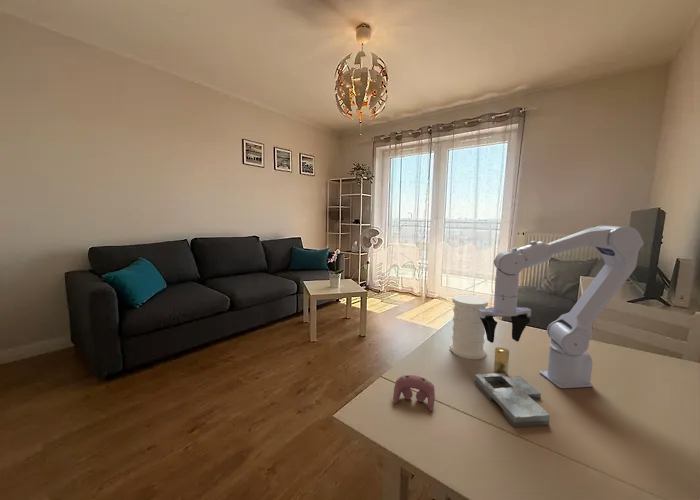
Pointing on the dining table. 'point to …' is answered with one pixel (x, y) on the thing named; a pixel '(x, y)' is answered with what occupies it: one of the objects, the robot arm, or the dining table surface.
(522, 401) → the upper link
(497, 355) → the pin
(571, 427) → the dining table surface
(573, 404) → the dining table surface
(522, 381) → the lower link
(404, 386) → the video game controller
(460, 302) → the decorative container
